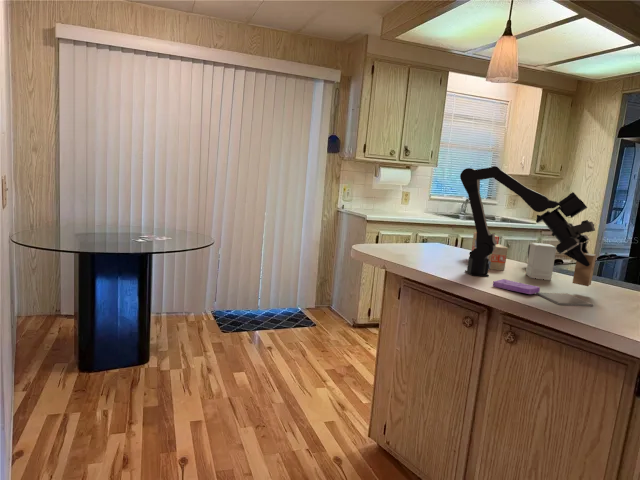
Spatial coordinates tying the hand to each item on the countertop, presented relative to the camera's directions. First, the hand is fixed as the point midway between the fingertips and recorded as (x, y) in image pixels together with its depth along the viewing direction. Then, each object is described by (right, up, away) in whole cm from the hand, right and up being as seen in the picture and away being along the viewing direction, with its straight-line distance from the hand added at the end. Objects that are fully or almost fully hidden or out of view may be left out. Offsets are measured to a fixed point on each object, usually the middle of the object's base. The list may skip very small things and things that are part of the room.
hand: (590, 264), depth 143 cm
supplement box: (-5, -6, +24) cm, 25 cm away
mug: (+2, -4, +41) cm, 41 cm away
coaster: (-13, -10, -7) cm, 18 cm away
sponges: (-24, -8, 0) cm, 25 cm away
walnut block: (-2, -6, +2) cm, 7 cm away
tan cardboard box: (-18, -2, +42) cm, 46 cm away
